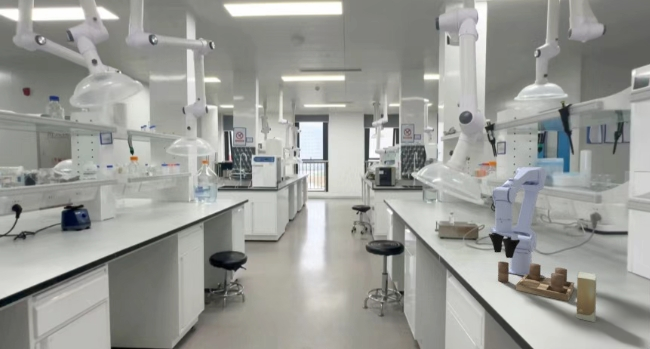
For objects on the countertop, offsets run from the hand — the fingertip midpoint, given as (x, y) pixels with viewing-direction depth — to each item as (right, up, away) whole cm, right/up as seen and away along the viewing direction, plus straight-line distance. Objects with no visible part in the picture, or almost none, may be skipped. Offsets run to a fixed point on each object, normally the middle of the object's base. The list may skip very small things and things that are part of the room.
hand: (503, 254), depth 130 cm
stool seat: (+11, -10, -8) cm, 17 cm away
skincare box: (+8, -11, -30) cm, 33 cm away
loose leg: (0, -10, 0) cm, 10 cm away
